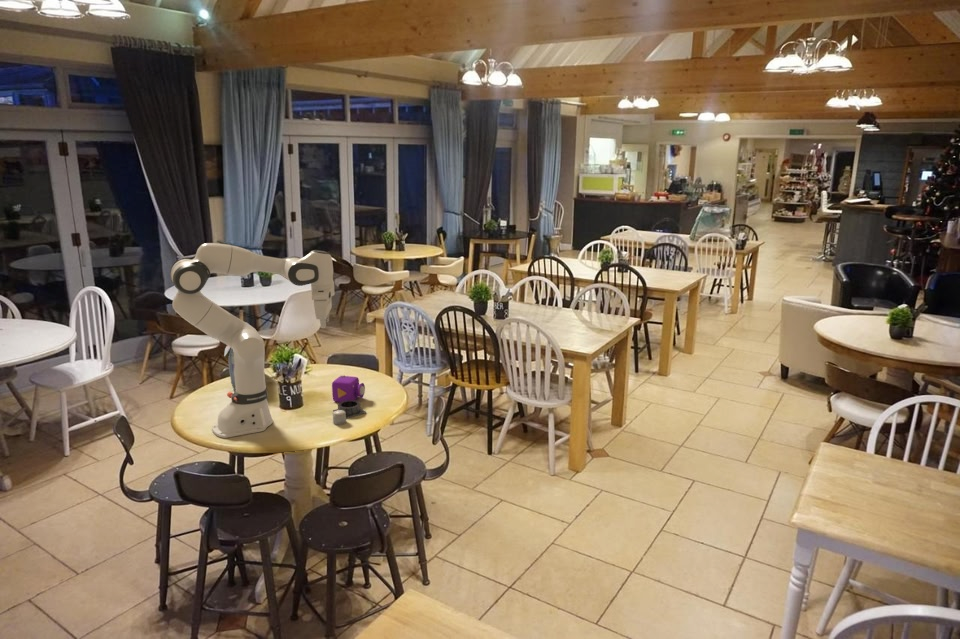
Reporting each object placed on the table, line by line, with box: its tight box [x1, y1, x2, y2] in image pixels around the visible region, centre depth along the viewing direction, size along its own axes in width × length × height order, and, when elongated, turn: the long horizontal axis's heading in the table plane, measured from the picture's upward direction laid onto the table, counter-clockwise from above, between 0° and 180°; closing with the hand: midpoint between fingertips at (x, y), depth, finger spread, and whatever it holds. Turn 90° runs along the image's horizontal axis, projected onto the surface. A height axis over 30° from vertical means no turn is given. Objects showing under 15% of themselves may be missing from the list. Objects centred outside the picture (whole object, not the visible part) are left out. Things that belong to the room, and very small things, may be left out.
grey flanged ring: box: [332, 399, 367, 420], centre depth 269 cm, size 10×10×4 cm
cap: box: [332, 410, 347, 426], centre depth 259 cm, size 5×5×4 cm
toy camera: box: [331, 374, 366, 403], centre depth 283 cm, size 11×14×10 cm
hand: (325, 324), depth 262 cm, fingers open, 8 cm apart
